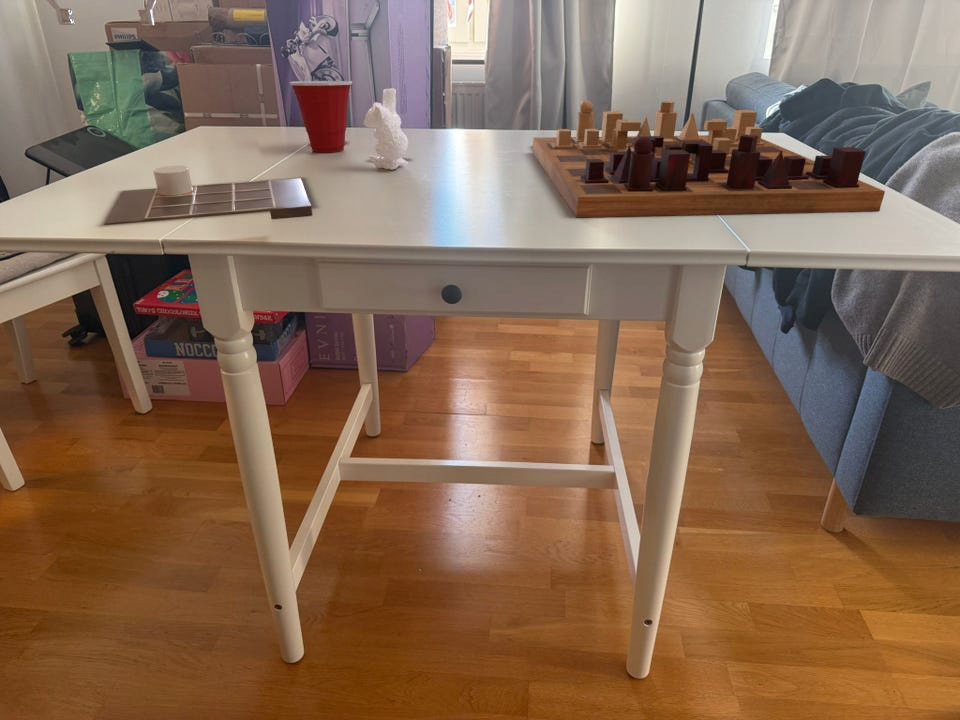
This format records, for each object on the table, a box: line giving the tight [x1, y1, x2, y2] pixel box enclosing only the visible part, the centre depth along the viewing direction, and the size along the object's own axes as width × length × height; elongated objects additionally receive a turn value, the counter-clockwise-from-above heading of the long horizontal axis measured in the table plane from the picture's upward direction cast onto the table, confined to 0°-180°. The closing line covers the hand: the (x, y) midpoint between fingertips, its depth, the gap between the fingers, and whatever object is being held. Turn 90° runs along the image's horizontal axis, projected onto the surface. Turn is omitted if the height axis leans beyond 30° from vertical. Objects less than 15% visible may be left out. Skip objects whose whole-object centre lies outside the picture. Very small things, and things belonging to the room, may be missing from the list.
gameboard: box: [532, 100, 886, 218], centre depth 102 cm, size 40×40×9 cm
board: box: [103, 177, 313, 226], centre depth 89 cm, size 24×16×1 cm, turn 108°
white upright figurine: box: [362, 87, 409, 171], centre depth 108 cm, size 8×7×12 cm
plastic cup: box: [289, 80, 353, 154], centre depth 121 cm, size 11×11×12 cm
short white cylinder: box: [153, 165, 193, 195], centre depth 91 cm, size 4×4×3 cm
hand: (108, 24), depth 87 cm, fingers open, 8 cm apart
